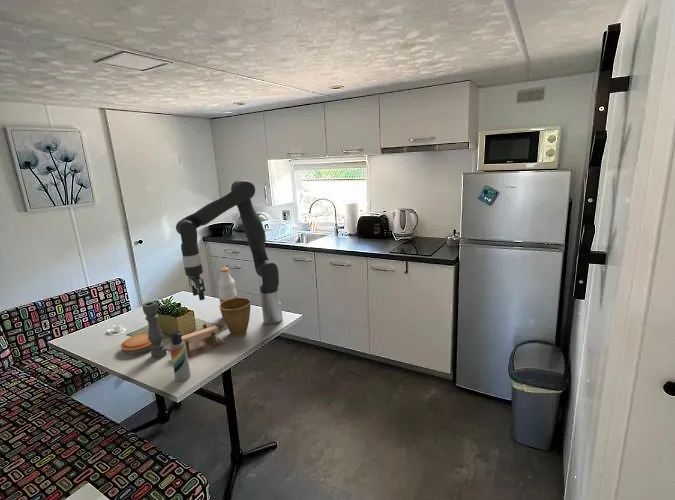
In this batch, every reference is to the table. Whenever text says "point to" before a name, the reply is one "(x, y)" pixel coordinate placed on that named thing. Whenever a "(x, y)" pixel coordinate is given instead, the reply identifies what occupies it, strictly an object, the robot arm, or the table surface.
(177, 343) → the lotion bottle
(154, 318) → the candle holder
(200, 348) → the rack
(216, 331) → the strip
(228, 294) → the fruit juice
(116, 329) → the teacup and saucer
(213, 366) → the table surface
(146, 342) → the pie
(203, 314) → the table surface
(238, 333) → the plant pot
